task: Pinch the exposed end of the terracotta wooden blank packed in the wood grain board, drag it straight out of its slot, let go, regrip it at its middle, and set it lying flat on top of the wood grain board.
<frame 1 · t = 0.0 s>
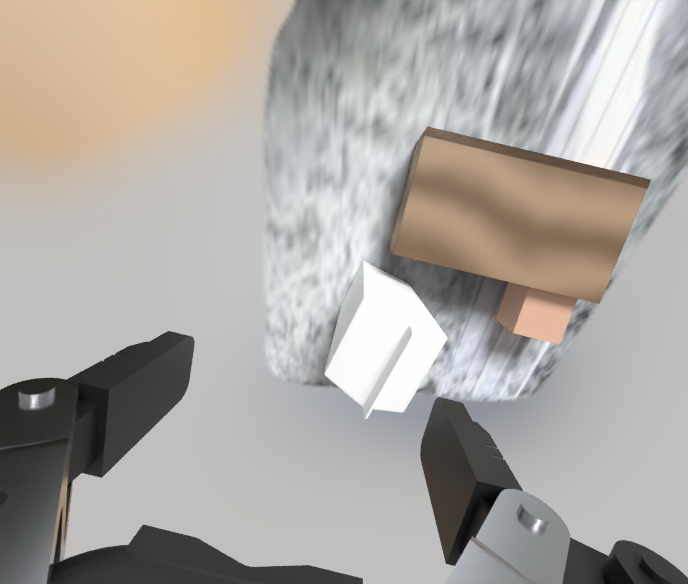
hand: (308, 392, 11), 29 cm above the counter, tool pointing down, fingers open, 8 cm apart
blank: (529, 284, 39), on the counter
wood grain board: (491, 219, 37), on the counter
milk: (374, 293, 40), on the counter
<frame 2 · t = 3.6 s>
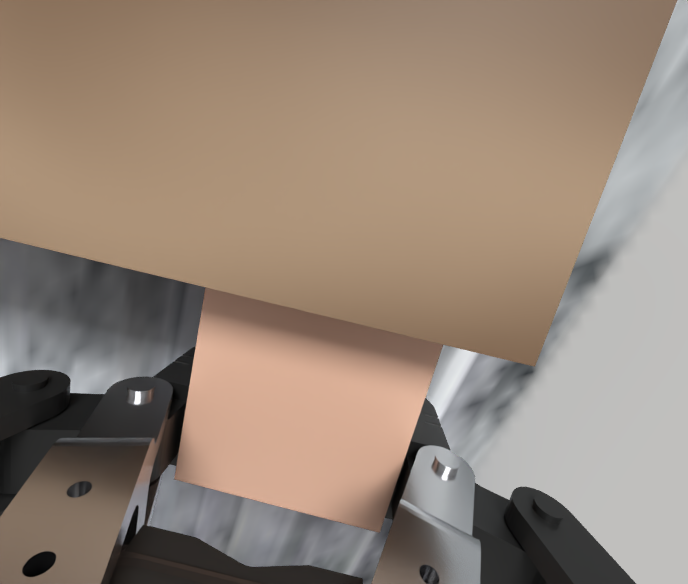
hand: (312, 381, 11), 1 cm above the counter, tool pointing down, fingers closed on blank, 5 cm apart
blank: (341, 270, 12), on the counter, touching gripper
wood grain board: (176, 35, 10), on the counter
when the fingers open (1 cm above the counter, at t = 5.6 s): blank stays where it is, on the counter.
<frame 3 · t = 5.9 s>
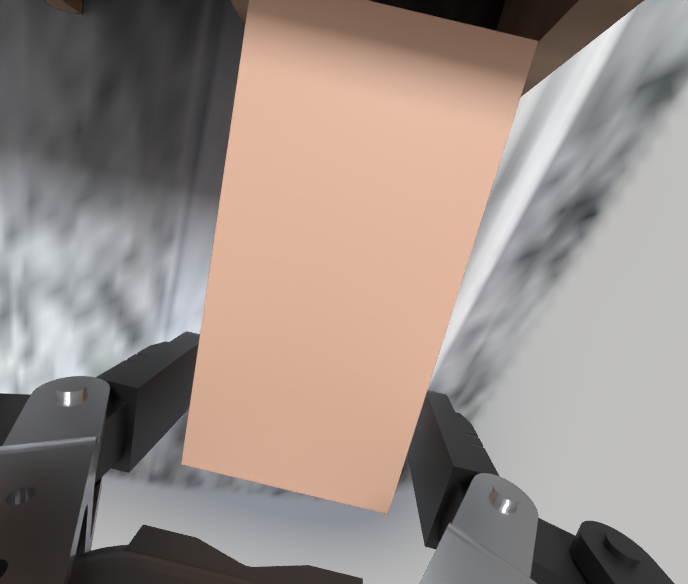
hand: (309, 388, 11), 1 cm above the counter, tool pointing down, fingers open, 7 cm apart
blank: (344, 258, 12), on the counter
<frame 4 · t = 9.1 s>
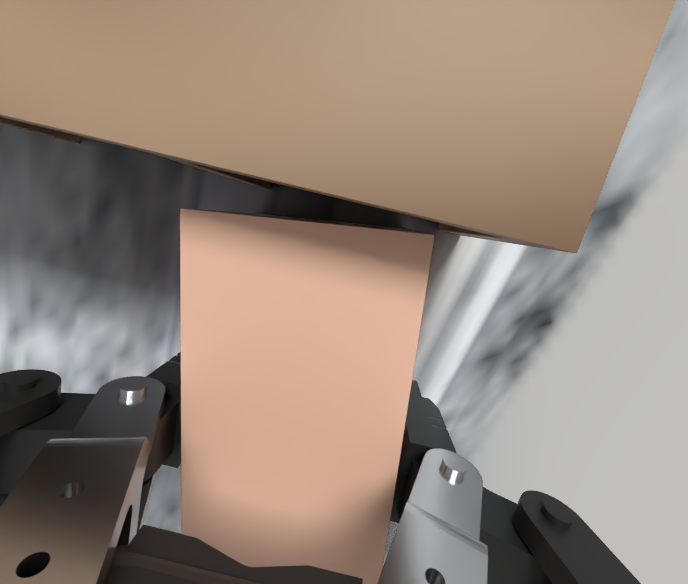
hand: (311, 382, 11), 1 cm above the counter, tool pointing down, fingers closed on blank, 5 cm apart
blank: (318, 357, 12), on the counter, touching gripper
when the fingers open (8 cm above the counter, at t = 14.3 s): blank moves 1 cm, resting on wood grain board.
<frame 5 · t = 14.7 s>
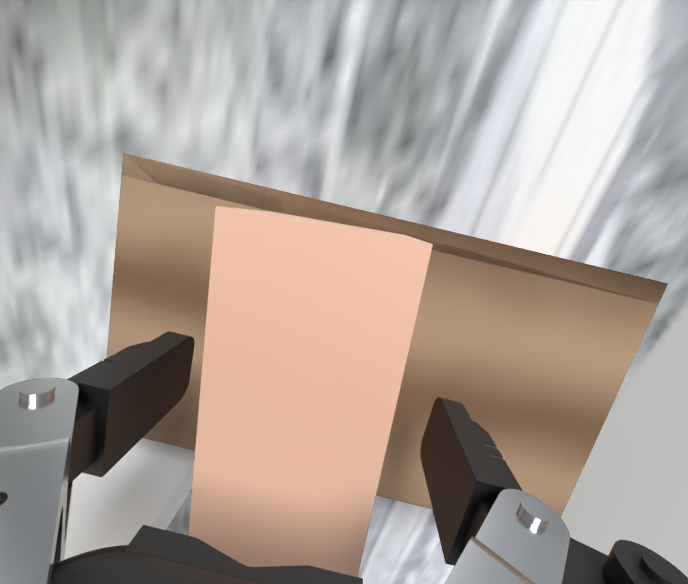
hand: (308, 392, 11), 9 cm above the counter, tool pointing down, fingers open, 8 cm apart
blank: (318, 347, 14), point 6 cm above the counter, touching wood grain board
wood grain board: (358, 320, 20), on the counter
milk: (165, 440, 22), on the counter
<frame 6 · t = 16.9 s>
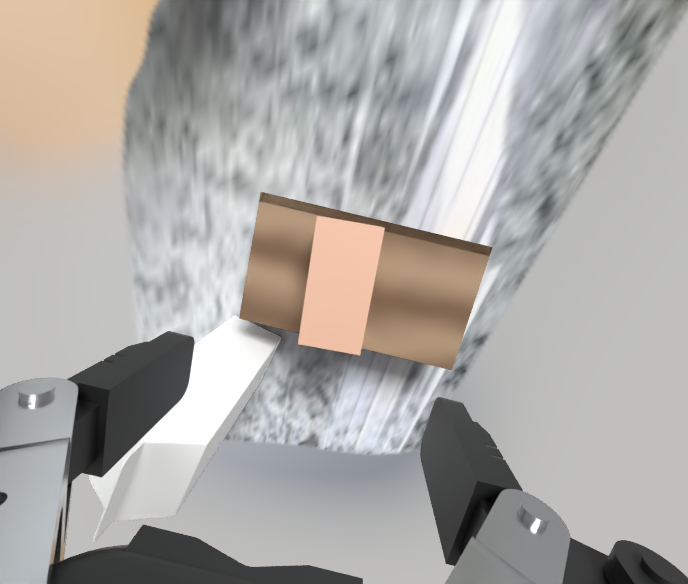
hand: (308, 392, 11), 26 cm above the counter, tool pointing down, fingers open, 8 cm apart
blank: (343, 277, 30), point 6 cm above the counter, touching wood grain board
wood grain board: (360, 274, 36), on the counter
milk: (249, 346, 39), on the counter
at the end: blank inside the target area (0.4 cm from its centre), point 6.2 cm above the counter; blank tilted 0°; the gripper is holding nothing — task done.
